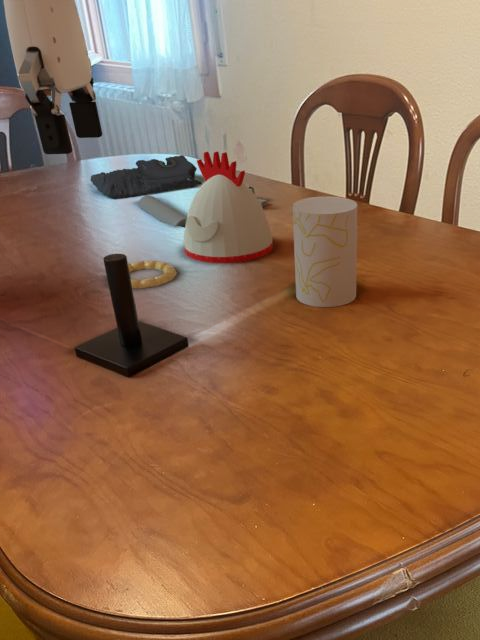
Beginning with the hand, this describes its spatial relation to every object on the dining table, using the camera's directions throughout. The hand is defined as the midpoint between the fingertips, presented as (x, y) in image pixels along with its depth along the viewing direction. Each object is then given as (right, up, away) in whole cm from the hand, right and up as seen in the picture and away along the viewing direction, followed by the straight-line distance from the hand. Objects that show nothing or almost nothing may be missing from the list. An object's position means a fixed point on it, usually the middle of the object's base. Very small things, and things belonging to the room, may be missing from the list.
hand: (75, 144), depth 79 cm
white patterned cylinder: (+30, -16, +10) cm, 36 cm away
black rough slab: (-8, +18, +64) cm, 67 cm away
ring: (+4, -12, +16) cm, 20 cm away
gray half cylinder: (+1, +5, +44) cm, 44 cm away
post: (+8, -25, -3) cm, 26 cm away
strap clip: (+16, +8, +47) cm, 50 cm away
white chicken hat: (+15, -6, +26) cm, 31 cm away
